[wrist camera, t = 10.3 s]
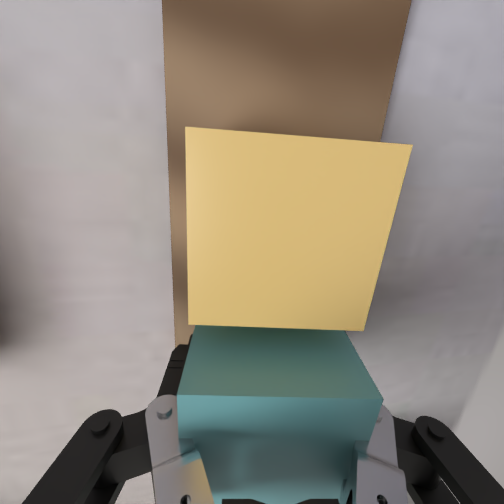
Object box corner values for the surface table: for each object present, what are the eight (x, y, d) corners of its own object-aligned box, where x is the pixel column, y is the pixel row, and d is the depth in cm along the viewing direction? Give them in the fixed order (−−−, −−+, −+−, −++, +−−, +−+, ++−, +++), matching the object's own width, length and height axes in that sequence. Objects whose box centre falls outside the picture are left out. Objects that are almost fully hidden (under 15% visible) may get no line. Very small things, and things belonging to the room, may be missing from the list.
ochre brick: (210, 137, 12) (184, 126, 7) (337, 147, 13) (412, 144, 7) (209, 257, 14) (188, 324, 9) (317, 262, 15) (363, 331, 9)
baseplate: (162, -202, 9) (145, -278, 8) (432, -161, 10) (470, -223, 8) (180, 356, 18) (174, 377, 17) (322, 361, 19) (330, 381, 17)
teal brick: (204, 289, 13) (176, 394, 7) (324, 295, 13) (383, 399, 8) (203, 382, 15) (181, 518, 10) (307, 385, 16) (343, 517, 10)
